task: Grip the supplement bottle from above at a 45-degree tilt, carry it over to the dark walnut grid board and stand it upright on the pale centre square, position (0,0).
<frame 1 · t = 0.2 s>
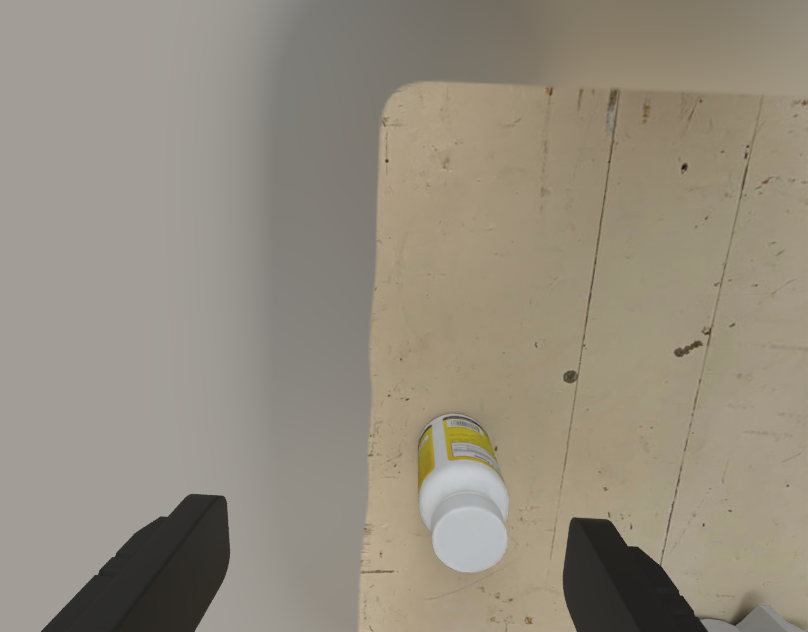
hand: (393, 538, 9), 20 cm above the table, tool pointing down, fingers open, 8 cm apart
supplement bottle: (453, 443, 30), on the table
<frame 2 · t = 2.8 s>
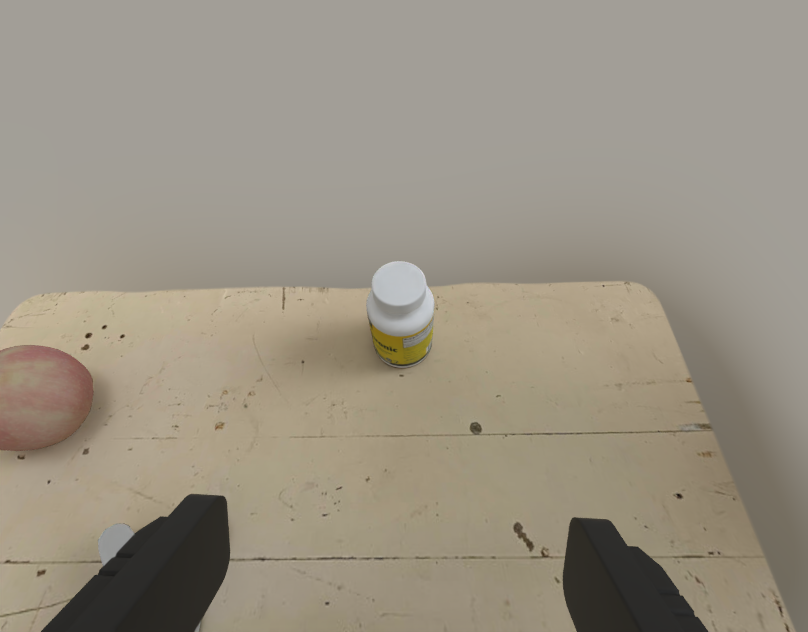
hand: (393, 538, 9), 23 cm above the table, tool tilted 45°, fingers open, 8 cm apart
supplement bottle: (402, 344, 37), on the table
apple: (70, 415, 35), on the table
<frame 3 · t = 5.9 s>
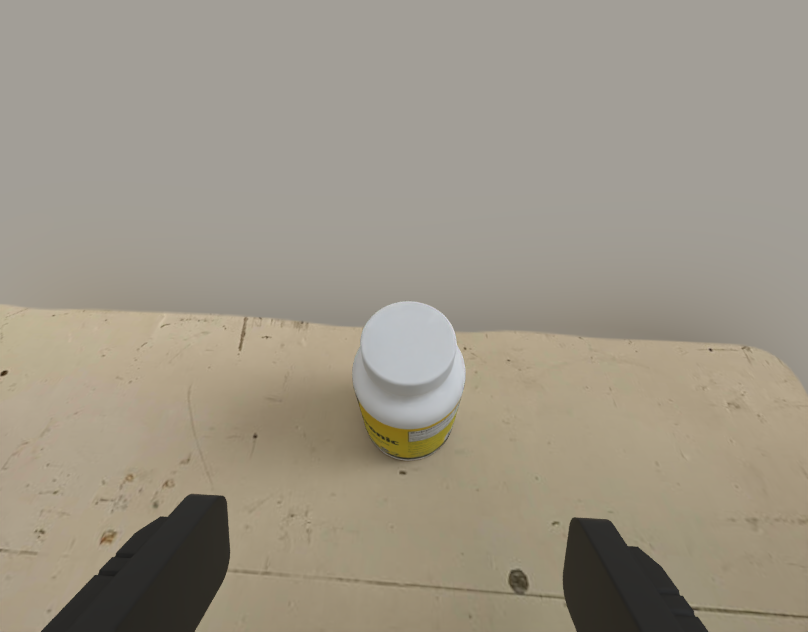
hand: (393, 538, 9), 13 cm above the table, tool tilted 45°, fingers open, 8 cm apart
supplement bottle: (408, 419, 25), on the table
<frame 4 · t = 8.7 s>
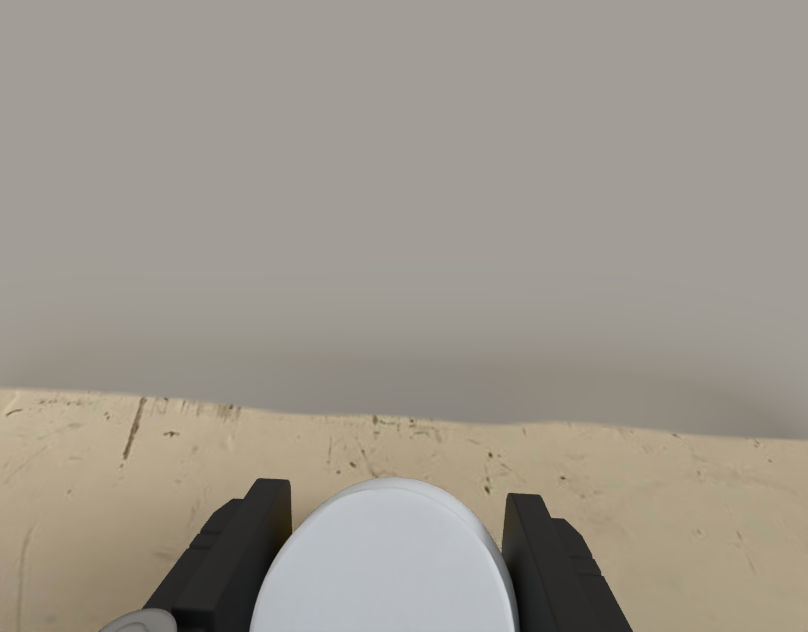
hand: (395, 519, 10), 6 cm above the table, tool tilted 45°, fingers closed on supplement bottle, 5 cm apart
supplement bottle: (397, 597, 14), on the table, touching gripper
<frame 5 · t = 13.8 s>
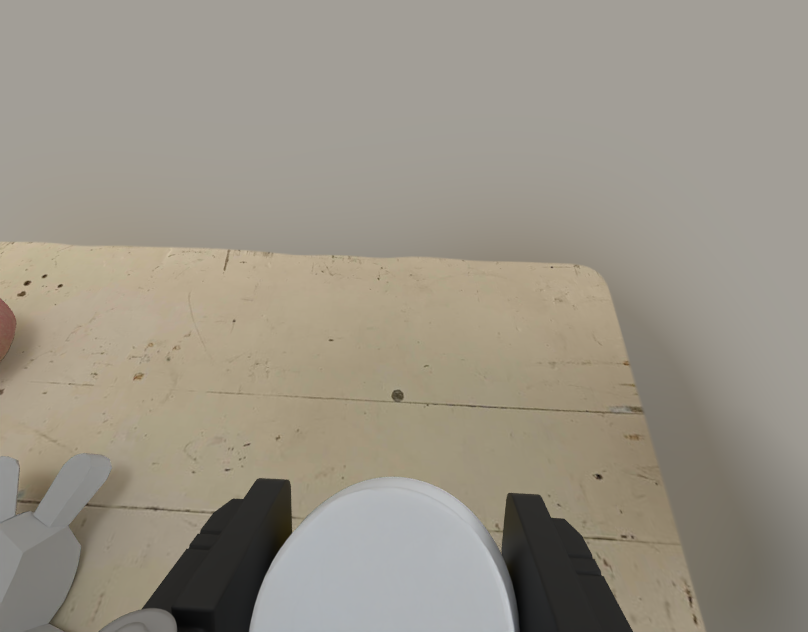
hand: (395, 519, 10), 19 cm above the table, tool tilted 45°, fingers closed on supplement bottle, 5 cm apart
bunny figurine: (37, 591, 25), on the table
supplement bottle: (397, 596, 14), point 13 cm above the table, touching gripper
when the fingers open (7 cm above the table, at t = 19.1 s): supplement bottle stays where it is, resting on board.
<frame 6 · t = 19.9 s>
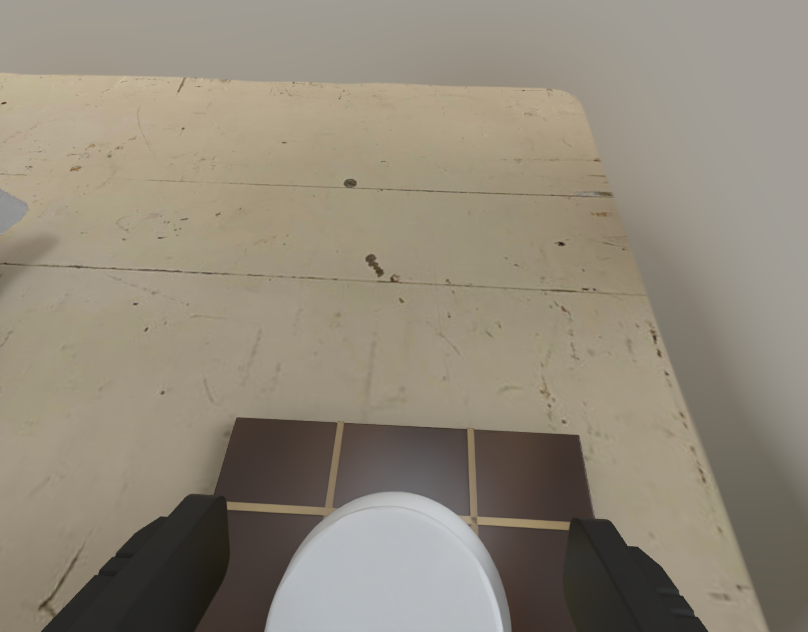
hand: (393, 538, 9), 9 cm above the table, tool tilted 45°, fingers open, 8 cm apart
supplement bottle: (397, 602, 15), point 1 cm above the table, touching board
board: (396, 595, 16), on the table
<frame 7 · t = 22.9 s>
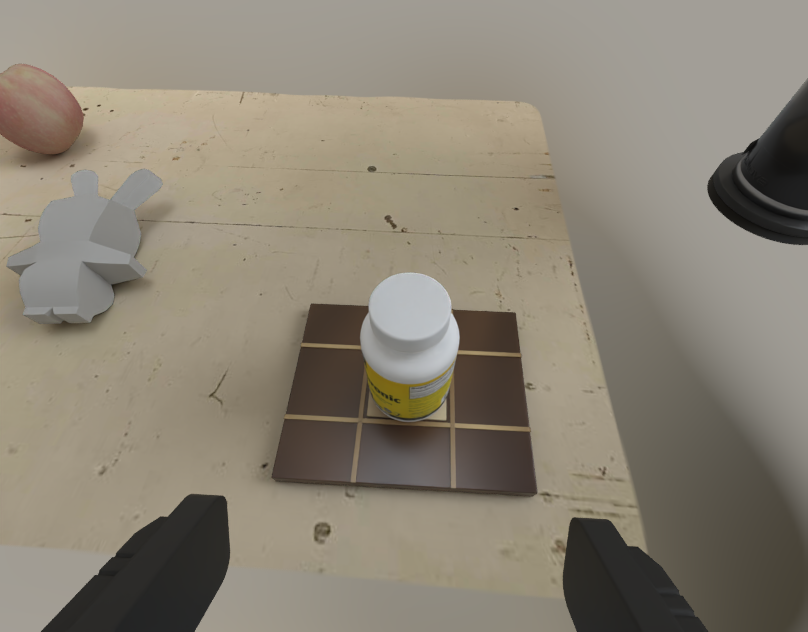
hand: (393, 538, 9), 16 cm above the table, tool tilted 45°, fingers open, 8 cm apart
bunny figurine: (111, 260, 35), on the table
supplement bottle: (408, 387, 27), point 1 cm above the table, touching board
apple: (64, 148, 45), on the table
board: (408, 390, 28), on the table
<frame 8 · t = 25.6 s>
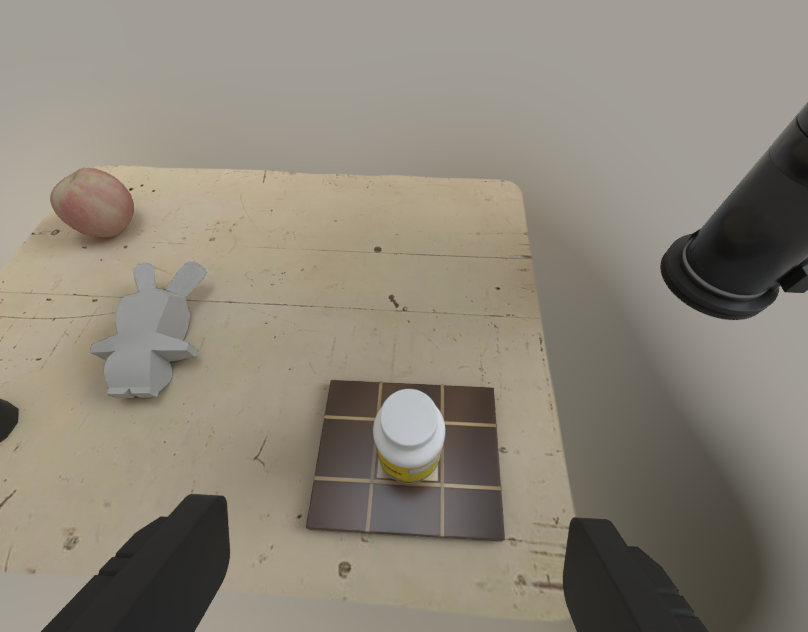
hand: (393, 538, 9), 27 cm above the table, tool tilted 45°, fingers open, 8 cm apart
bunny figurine: (166, 338, 43), on the table
supplement bottle: (408, 453, 35), point 1 cm above the table, touching board
apple: (116, 229, 53), on the table
board: (408, 454, 36), on the table
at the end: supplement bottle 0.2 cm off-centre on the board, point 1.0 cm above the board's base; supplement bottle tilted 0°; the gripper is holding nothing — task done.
